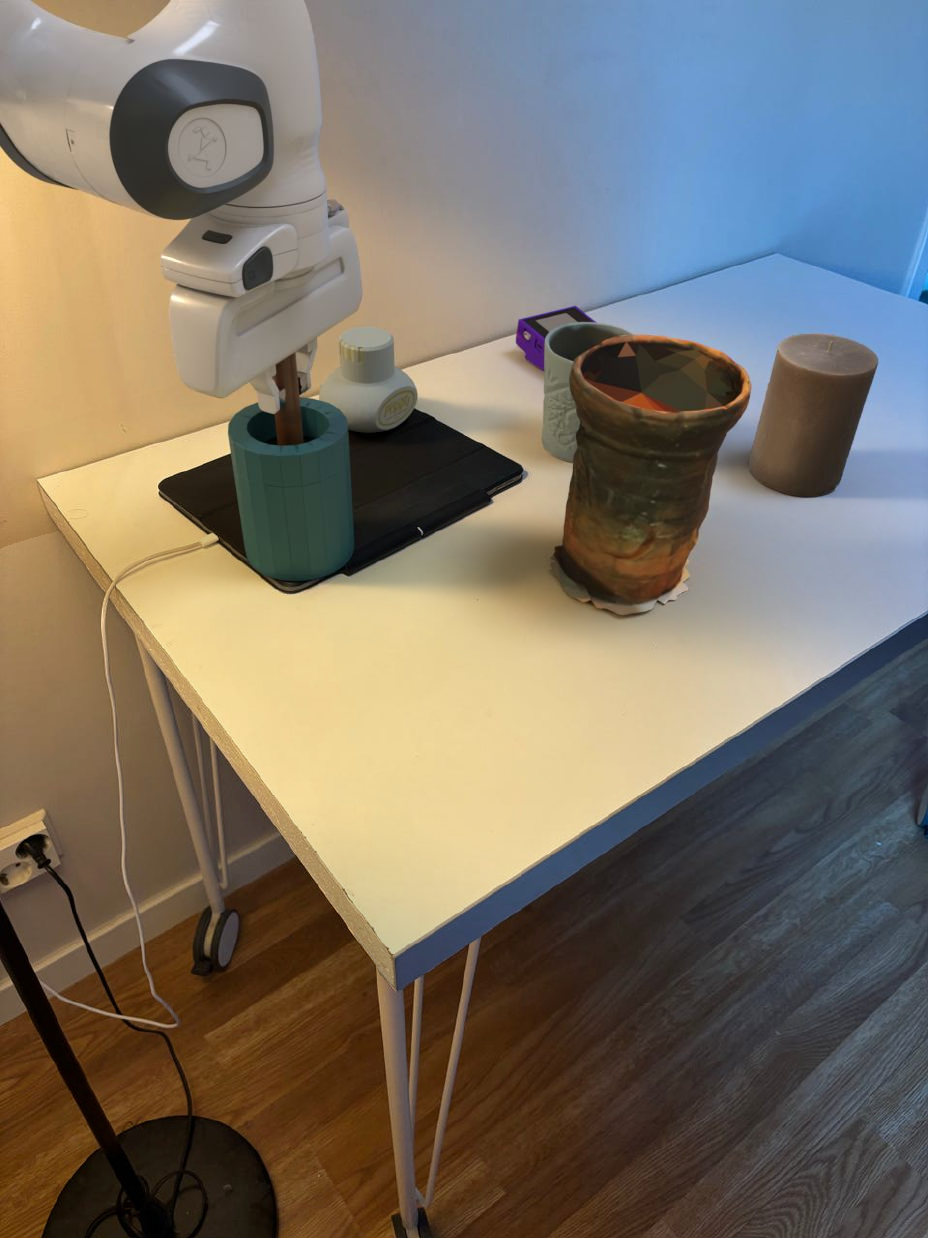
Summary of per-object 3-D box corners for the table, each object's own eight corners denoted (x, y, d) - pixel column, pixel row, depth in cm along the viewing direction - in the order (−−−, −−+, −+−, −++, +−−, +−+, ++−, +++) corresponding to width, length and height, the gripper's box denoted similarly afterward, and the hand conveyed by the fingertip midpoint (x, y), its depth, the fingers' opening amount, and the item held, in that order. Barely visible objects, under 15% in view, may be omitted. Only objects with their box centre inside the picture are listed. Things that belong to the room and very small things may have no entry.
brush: (268, 534, 87) (245, 348, 75) (293, 512, 90) (274, 329, 78) (305, 546, 86) (287, 359, 74) (329, 524, 88) (315, 340, 77)
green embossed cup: (589, 414, 111) (602, 314, 103) (646, 454, 104) (664, 350, 96) (517, 435, 106) (525, 333, 99) (571, 478, 100) (584, 372, 92)
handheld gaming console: (591, 376, 110) (518, 316, 118) (583, 414, 114) (512, 353, 122) (652, 359, 114) (577, 301, 122) (642, 396, 118) (570, 338, 126)
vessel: (736, 596, 86) (793, 393, 73) (598, 635, 81) (633, 426, 68) (650, 512, 96) (686, 320, 83) (522, 543, 91) (540, 344, 78)
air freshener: (373, 392, 113) (371, 310, 107) (428, 414, 109) (428, 330, 103) (309, 427, 106) (301, 342, 100) (364, 451, 103) (360, 365, 96)
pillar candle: (848, 500, 98) (896, 365, 89) (753, 494, 99) (790, 358, 89) (828, 452, 106) (870, 322, 96) (740, 446, 106) (772, 316, 96)
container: (223, 560, 87) (203, 435, 79) (287, 507, 94) (274, 386, 86) (315, 594, 84) (304, 467, 76) (374, 536, 91) (369, 414, 83)
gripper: (311, 185, 78) (322, 345, 87) (141, 263, 64) (175, 443, 73) (377, 199, 76) (382, 360, 85) (217, 282, 62) (242, 465, 71)
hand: (285, 400), depth 79 cm, fingers closed on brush, 2 cm apart
